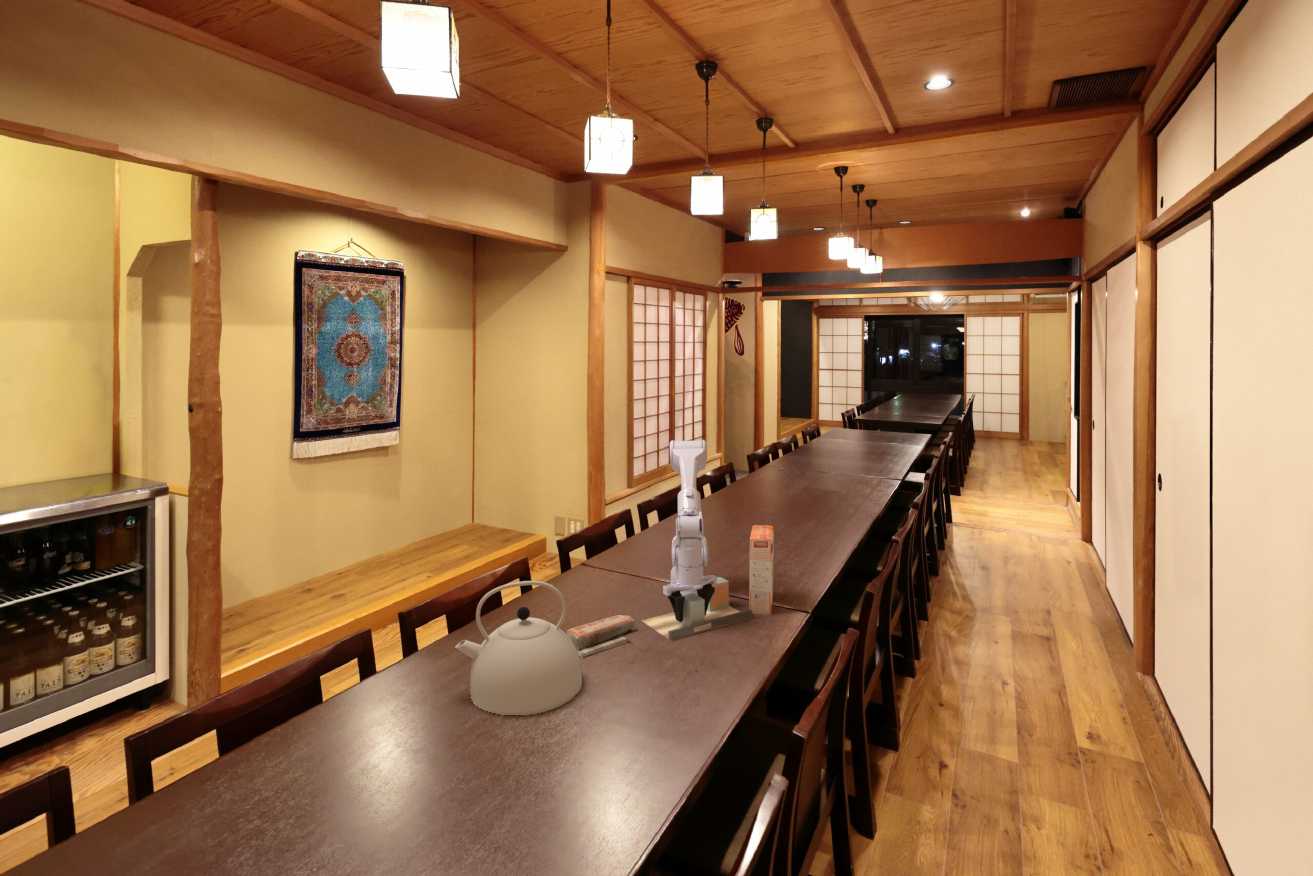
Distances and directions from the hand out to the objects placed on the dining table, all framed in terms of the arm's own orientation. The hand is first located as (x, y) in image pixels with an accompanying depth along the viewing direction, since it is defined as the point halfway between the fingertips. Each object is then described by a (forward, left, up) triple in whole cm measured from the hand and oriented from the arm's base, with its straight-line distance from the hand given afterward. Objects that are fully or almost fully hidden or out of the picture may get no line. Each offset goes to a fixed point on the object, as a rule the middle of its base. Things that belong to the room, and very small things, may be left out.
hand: (690, 617), depth 165 cm
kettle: (+5, -45, -3) cm, 45 cm away
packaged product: (-6, -21, -4) cm, 22 cm away
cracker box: (-1, +23, -3) cm, 23 cm away
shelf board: (-2, +3, -3) cm, 5 cm away
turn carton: (0, 0, -2) cm, 2 cm away
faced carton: (-6, +11, -2) cm, 13 cm away
